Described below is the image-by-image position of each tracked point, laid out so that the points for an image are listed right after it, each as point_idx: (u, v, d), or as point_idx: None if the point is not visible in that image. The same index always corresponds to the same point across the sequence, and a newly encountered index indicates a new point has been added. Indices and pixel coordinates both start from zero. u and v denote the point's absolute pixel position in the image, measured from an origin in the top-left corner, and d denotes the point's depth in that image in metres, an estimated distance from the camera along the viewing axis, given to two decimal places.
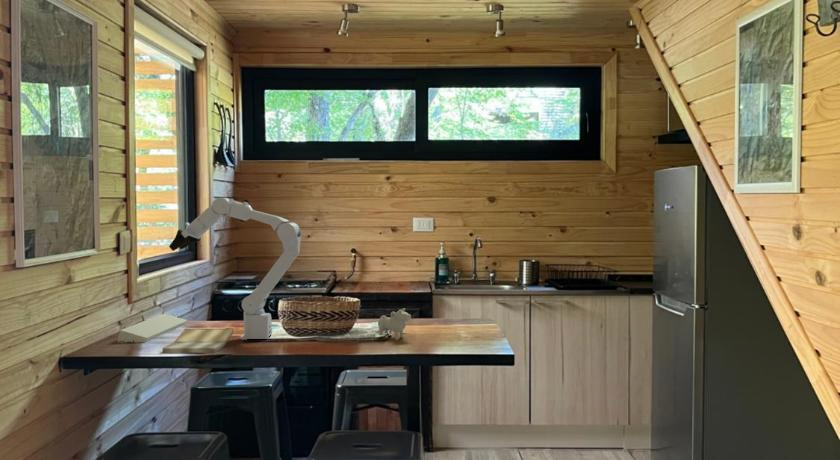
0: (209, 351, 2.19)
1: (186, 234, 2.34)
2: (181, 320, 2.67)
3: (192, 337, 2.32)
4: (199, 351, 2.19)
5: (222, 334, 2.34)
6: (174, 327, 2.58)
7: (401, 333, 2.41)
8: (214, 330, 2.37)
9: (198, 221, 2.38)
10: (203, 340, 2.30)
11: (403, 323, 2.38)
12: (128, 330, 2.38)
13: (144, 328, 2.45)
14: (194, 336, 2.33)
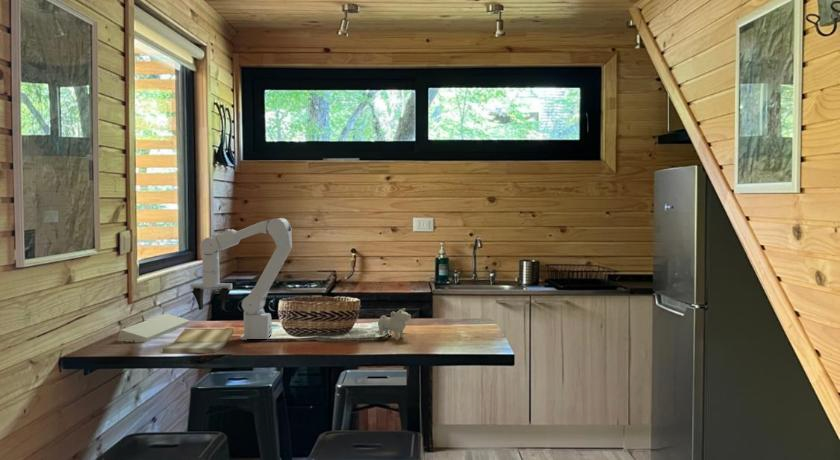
0: (209, 351, 2.19)
1: None
2: (183, 320, 2.67)
3: (192, 337, 2.32)
4: (199, 351, 2.19)
5: (222, 334, 2.34)
6: (175, 327, 2.58)
7: (401, 333, 2.41)
8: (214, 330, 2.37)
9: None
10: (203, 340, 2.30)
11: (403, 323, 2.38)
12: (128, 330, 2.38)
13: (145, 328, 2.45)
14: (194, 336, 2.33)
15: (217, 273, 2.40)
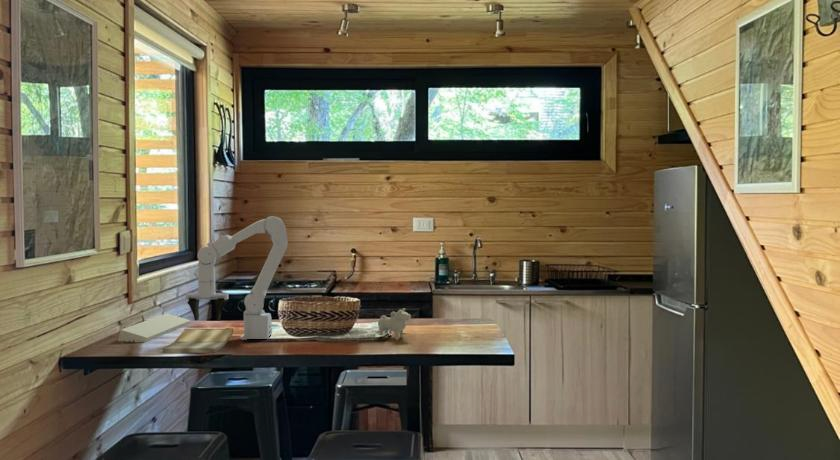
0: (209, 351, 2.19)
1: None
2: (184, 320, 2.67)
3: (192, 337, 2.32)
4: (199, 351, 2.19)
5: (222, 334, 2.34)
6: (176, 327, 2.58)
7: (401, 333, 2.41)
8: (214, 330, 2.37)
9: None
10: (203, 340, 2.30)
11: (403, 323, 2.38)
12: (129, 330, 2.38)
13: (145, 328, 2.45)
14: (194, 336, 2.33)
15: (213, 283, 2.36)
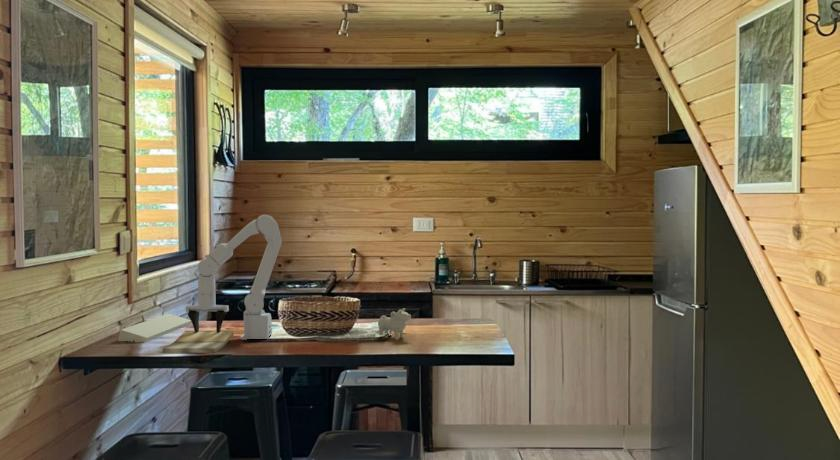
0: (209, 351, 2.19)
1: None
2: (185, 320, 2.67)
3: (192, 338, 2.32)
4: (199, 351, 2.19)
5: (222, 335, 2.34)
6: (177, 327, 2.58)
7: (401, 333, 2.41)
8: (214, 332, 2.38)
9: None
10: (203, 340, 2.30)
11: (403, 323, 2.38)
12: (129, 330, 2.39)
13: (145, 328, 2.45)
14: (194, 337, 2.33)
15: (213, 295, 2.36)
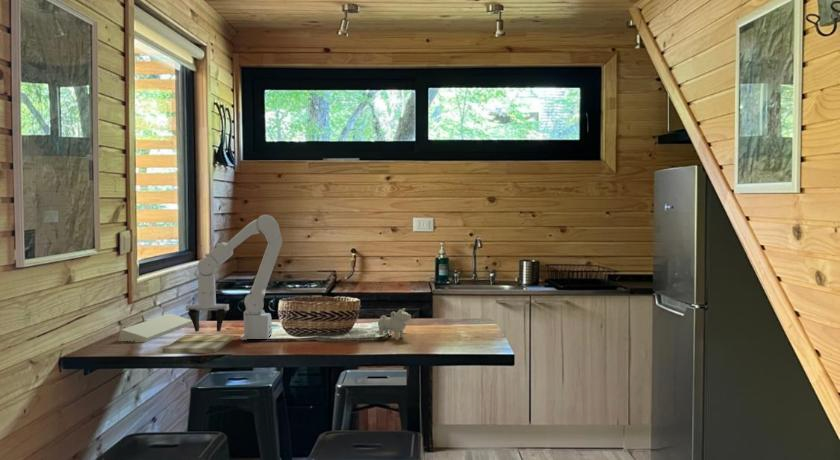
0: (209, 351, 2.19)
1: None
2: (186, 320, 2.67)
3: (192, 339, 2.32)
4: (199, 351, 2.19)
5: (223, 337, 2.34)
6: (178, 327, 2.58)
7: (401, 333, 2.41)
8: (215, 335, 2.38)
9: None
10: (203, 340, 2.30)
11: (403, 323, 2.38)
12: (129, 330, 2.39)
13: (146, 328, 2.45)
14: (195, 338, 2.33)
15: (213, 294, 2.36)
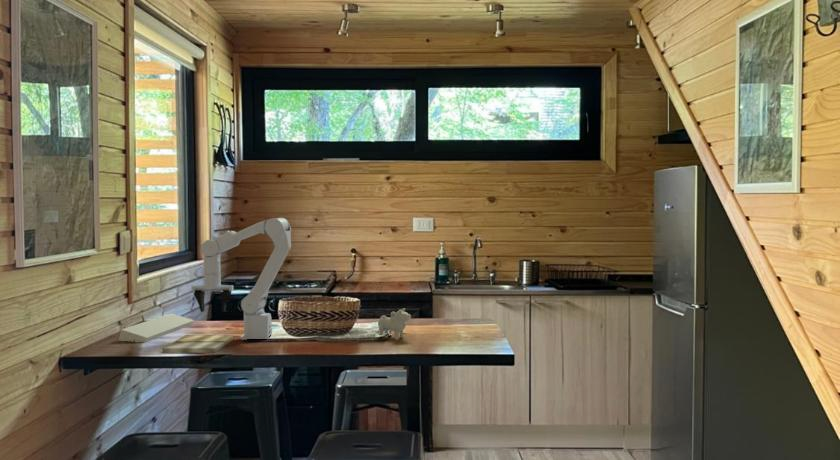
0: (209, 351, 2.19)
1: None
2: (187, 320, 2.67)
3: (192, 339, 2.32)
4: (199, 351, 2.19)
5: (223, 337, 2.34)
6: (178, 327, 2.58)
7: (401, 333, 2.41)
8: (215, 335, 2.38)
9: None
10: (203, 340, 2.30)
11: (403, 323, 2.38)
12: (129, 329, 2.39)
13: (146, 328, 2.45)
14: (195, 338, 2.33)
15: (218, 275, 2.41)
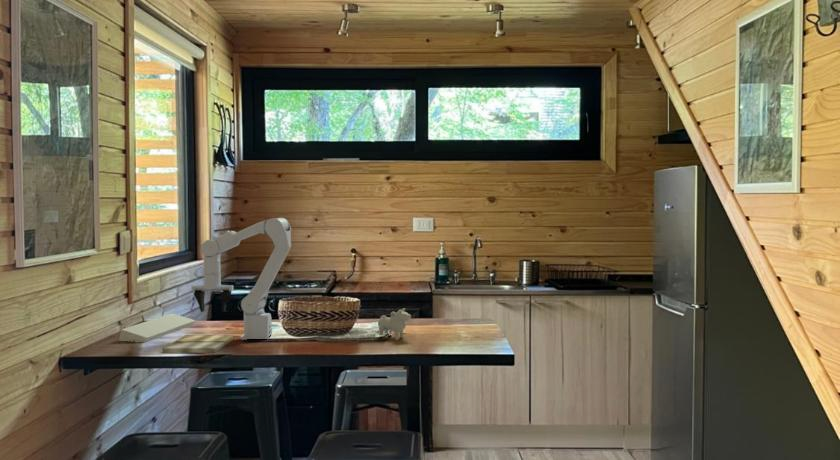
0: (209, 351, 2.19)
1: None
2: (188, 320, 2.67)
3: (192, 339, 2.32)
4: (199, 351, 2.19)
5: (223, 337, 2.34)
6: (179, 327, 2.58)
7: (401, 333, 2.41)
8: (215, 335, 2.38)
9: None
10: (203, 340, 2.30)
11: (403, 323, 2.38)
12: (129, 329, 2.39)
13: (147, 328, 2.45)
14: (195, 338, 2.33)
15: (218, 275, 2.41)
